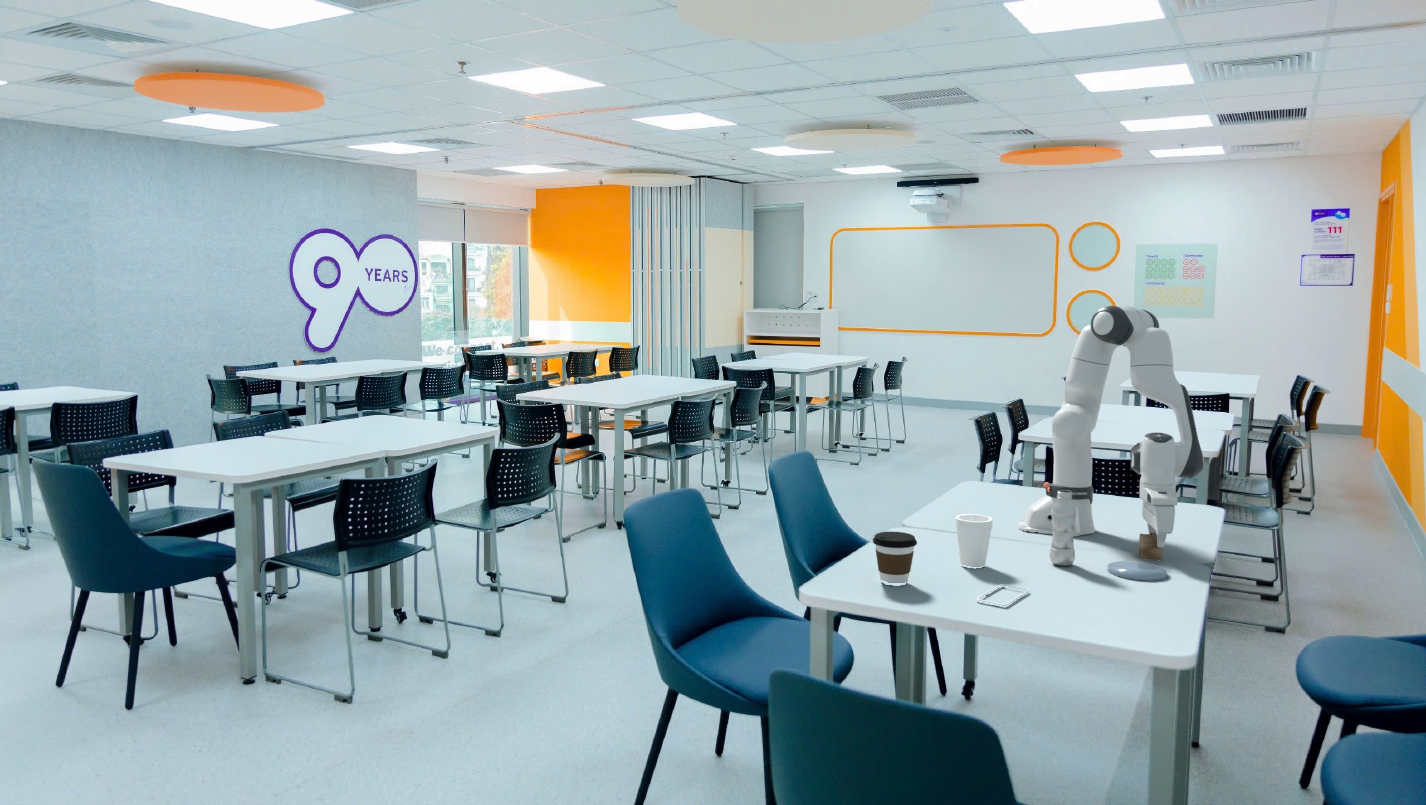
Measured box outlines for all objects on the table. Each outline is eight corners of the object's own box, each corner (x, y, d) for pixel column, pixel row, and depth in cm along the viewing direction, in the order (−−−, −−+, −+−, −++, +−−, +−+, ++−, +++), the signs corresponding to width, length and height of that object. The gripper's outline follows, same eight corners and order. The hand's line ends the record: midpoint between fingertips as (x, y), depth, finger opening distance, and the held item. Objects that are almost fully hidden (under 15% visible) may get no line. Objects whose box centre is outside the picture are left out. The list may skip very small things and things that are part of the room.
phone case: (1005, 610, 213) (1029, 594, 224) (1005, 604, 213) (1030, 589, 224) (975, 604, 218) (1000, 589, 229) (975, 598, 217) (1000, 583, 229)
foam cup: (993, 563, 250) (994, 516, 249) (988, 572, 242) (989, 523, 240) (957, 559, 254) (958, 512, 253) (951, 568, 246) (952, 520, 244)
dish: (1111, 578, 236) (1111, 573, 236) (1104, 563, 249) (1104, 559, 249) (1171, 582, 232) (1172, 578, 232) (1161, 567, 245) (1161, 563, 245)
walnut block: (1141, 559, 253) (1142, 537, 253) (1138, 554, 258) (1139, 533, 258) (1161, 560, 252) (1162, 539, 251) (1158, 555, 257) (1159, 534, 256)
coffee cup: (890, 592, 225) (891, 543, 224) (863, 580, 235) (863, 533, 234) (925, 585, 230) (926, 538, 229) (897, 574, 240) (898, 529, 239)
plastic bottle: (1074, 562, 250) (1077, 489, 248) (1075, 569, 244) (1078, 494, 242) (1048, 560, 252) (1051, 488, 250) (1049, 567, 246) (1051, 493, 244)
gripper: (1136, 485, 264) (1136, 533, 265) (1153, 499, 244) (1152, 551, 246) (1161, 486, 263) (1159, 534, 264) (1179, 500, 243) (1178, 552, 244)
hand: (1156, 542), depth 255 cm, fingers open, 8 cm apart
